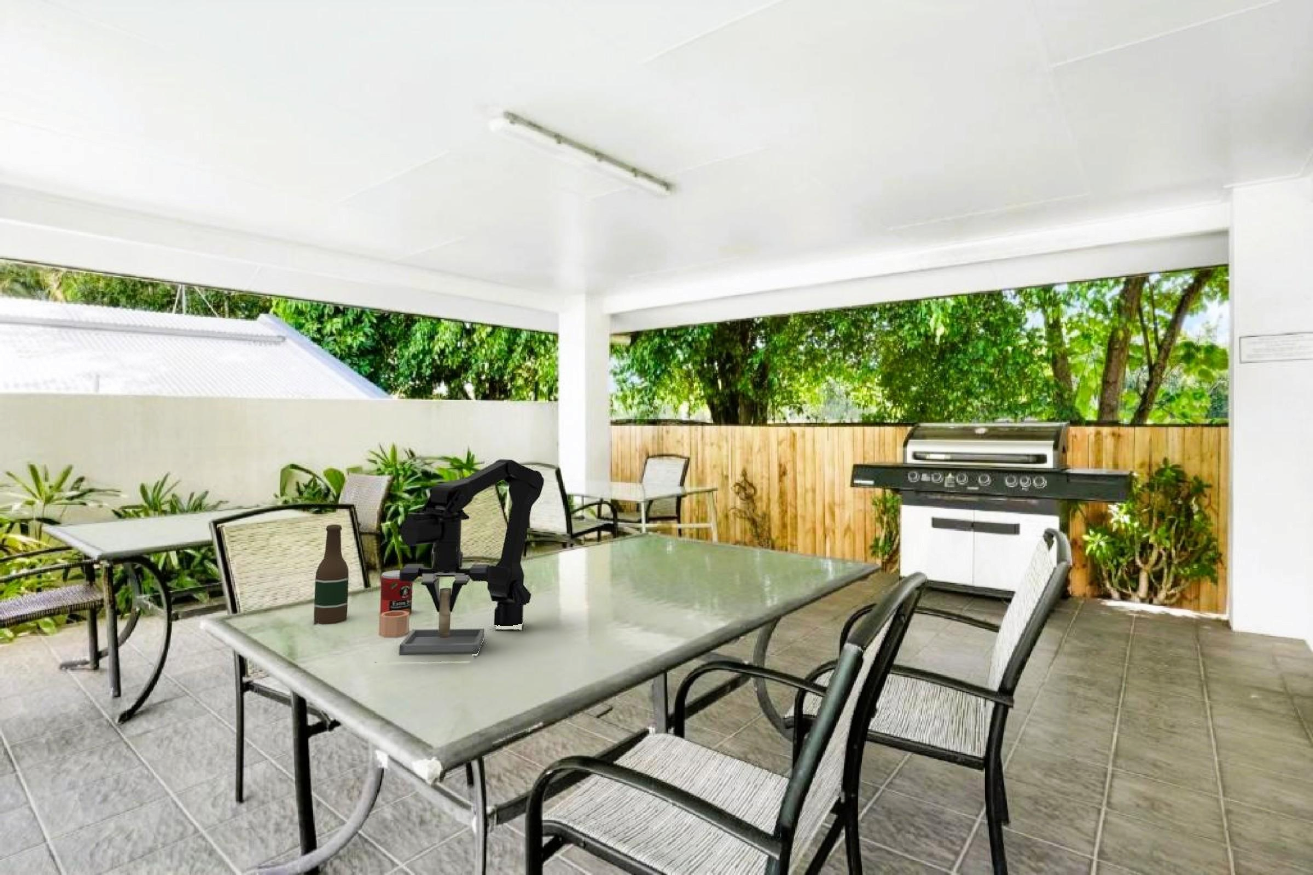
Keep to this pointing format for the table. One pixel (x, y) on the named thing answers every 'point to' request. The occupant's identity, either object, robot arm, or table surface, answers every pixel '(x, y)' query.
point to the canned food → (395, 593)
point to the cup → (394, 623)
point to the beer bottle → (331, 582)
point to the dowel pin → (444, 613)
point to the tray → (441, 642)
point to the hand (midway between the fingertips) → (444, 611)
